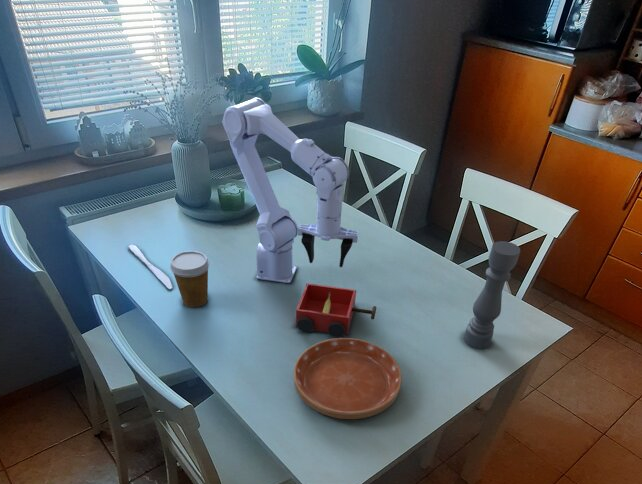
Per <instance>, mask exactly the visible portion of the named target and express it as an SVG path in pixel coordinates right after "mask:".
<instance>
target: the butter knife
mask: <svg viewBox="0 0 642 484" xmlns="http://www.w3.org/2000/svg"><path fill="white" fill-rule="evenodd" d="M128 248H129V250H130V251H131V252H132V253H133V254H134V255H135V256H136V257H138V258H139V259H140V260H141V261H142V262H143V263H144V264H145V265H146V266H147V268H149V269H150V271H151V272H152V273H153V274H154V275H155V276H156V277H157V278H158V280H160V281H161V282H162V284H164V286H165V287H166V288H167V289H168V290H171V289H173V284H172V282H171V279H170V277H169V276H167V274H165V272H163V271H162V270H160V269H159V268H158V267H156V266H154V265H153V264H152V263H151V262H149V260H148V259H147V258H146V256H144V254H143V252H142V251H141V250H140V249H139V247H137V246H136V245H135V244H130V245H128Z"/></svg>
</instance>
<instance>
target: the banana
mask: <svg viewBox="0 0 642 484" xmlns="http://www.w3.org/2000/svg"><path fill="white" fill-rule="evenodd" d="M328 294H329V297H328V299H327V301H326V302H325V305H324V309H323V312H322V313H328V314H329V313H330V308H331V302H330V296H331V293H328Z"/></svg>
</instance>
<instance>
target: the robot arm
mask: <svg viewBox="0 0 642 484" xmlns="http://www.w3.org/2000/svg"><path fill="white" fill-rule="evenodd" d="M221 124H222V126H223V128H224V131H225V134H226V135H227V138H228V140H229V145H230V148H231V150H232V153H233V155H234V157H235V160H236V163H237V164H238V167H239V169H240V171H241V173H242V176H243V178H244V181H245V183H246V185H247V188H248V190H249V192H250V194H251V195H250V196H251V197H252V200H253V202H254V204H255V206H256V208H257V211H258V213H259V217H258V220H257V223H256V225H255V227H256V231H257V233H258V241H259V243H258V245H257V249H256V256H255V257H256V279H257V280H263V281H270V282H277V283H284V284H290V283H291V282H292V280H293V278H294V276H295V273H296V271H297V266H294V265H293V244H294V243H295V238H296V237H297V236H300V237H301V239H300V240H301V241H300V242H301V244H302V246H303V247H304V249H305V251H306V254H307V258H308V262H309V263H310V264H313V263H314V260H315V237H317V238H320V240H321V241H325V242H326V241H327V242H328V241H330V240H342V241H341V244H340V258H339V268H343V266H344V262H345V258H346V256H347V255H348V253H349V252H350V250H351V248H352V246H353V243H356V244H357V243H358V240H359V231H356V230H352V229H349V228H345V227H342V226H341V221H342V209H343V195H344V193H343V192H344V183H345V182H346V181H347V180H348V179H349V176H350V169H349V166H348V164H347V162H346V161H345V160H344V158H342V157H339V156H332V155H330V154H329V153H327V152H325V151H324V150H322V148H320V147H319V146H318V145H316V144H315V141H314V140H313V139H311V138H310V139H309V138H299V137H298V136H297V135H296V134H295V133H294V132H293V131H292V130H291V129H290V128H289V127H287V126H286V124H284V123H283V122H282V121H281V120H280V119H279V118H278V117H277V116H276V115H275V114H274V113H273V110H272V106H271V105H269V104H267V103H266V102H265V100H263V99H262V98H260V97H253V98H251V99H249V100H246V101H244V102H241V103H238V104H236V105H230V106H228V107H227V108H226V109H225V111H224V113H223V117H222V121H221ZM262 134H263V135H265V136H267V137H268V138H270V139H271V140H273V141H274V142H275V143H277V144H278V145H279V146H281V147H283V148H284V149H285V150H287V151H288V152H290V156H291V157H290V158H291V160H292V162H294V163H295V164H296V165H297V166H298V167H300V168H301V169H302V170H303V171H305V172H306V174H308V175H310V176H311V177H312V182H313V184H314V186H315V189H316V195H317V199H316V200H317V201H316V224H315V223H314V224H299V225H298V224H297V222H296V221H295V219H294V218H293V217H292V216H291V214H290V210H288V209H287V208H284V207H282V206H280V204H279V201H278V199H277V197H276V194H275V191H274V189H273V187H272V185H271V182H270V179H269V177H268V175H267V172H266V170H265V168H264V165H263V163H262V162H263V161H262V160H261V157H260V155H259V153H258V150H257V148H256V143H257V140H258V138H259V137H258V136H259V135H262Z"/></svg>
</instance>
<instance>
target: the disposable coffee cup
mask: <svg viewBox="0 0 642 484" xmlns="http://www.w3.org/2000/svg"><path fill="white" fill-rule="evenodd" d="M209 267H210V260H209V258H207V255H206V254H204V253H203V252H201V251H197V250H185V251H181V252H178V253H176V254H175V255H174V256H173V257H172V258H171V260H170V264H169V269H170V270H171V272H172V273H173V276H174V278H175V279H174V280H175V282H176V285H177V288H178V291H179V295H180V297H181V300H182V303H183V305H184V306H186V307H188V308H198V307H202V306H204V305H206V304H207V303H208V300H209V299H208V296H209V295H208V292H209V289H208V288H209Z"/></svg>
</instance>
